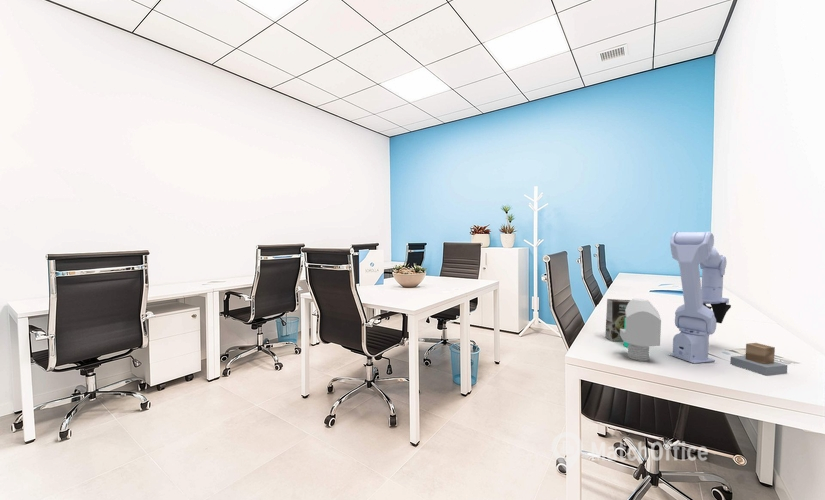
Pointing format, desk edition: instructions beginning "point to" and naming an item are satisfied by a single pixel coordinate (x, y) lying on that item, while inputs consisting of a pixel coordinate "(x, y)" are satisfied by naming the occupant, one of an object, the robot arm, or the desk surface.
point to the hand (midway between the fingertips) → (710, 323)
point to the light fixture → (641, 328)
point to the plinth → (759, 366)
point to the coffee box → (615, 318)
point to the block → (760, 353)
